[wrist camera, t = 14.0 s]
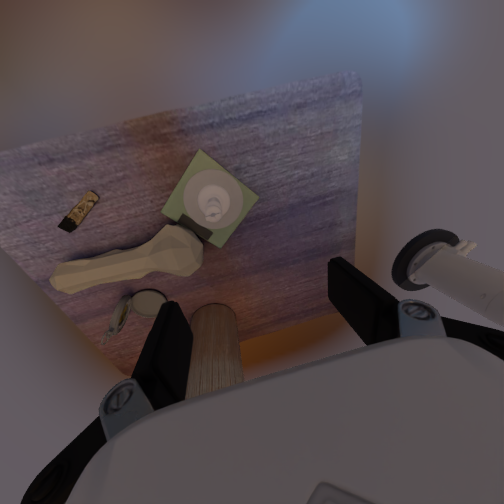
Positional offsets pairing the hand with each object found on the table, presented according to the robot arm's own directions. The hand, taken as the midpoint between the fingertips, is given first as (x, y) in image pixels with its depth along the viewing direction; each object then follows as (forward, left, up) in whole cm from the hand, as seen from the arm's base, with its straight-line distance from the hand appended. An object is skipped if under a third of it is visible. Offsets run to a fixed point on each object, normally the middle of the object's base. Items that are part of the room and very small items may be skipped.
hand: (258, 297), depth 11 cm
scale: (+1, -3, -24) cm, 24 cm away
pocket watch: (+25, -3, -24) cm, 35 cm away
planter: (+23, +12, -24) cm, 35 cm away
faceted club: (+16, -9, -24) cm, 30 cm away
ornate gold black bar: (+14, -18, -24) cm, 33 cm away
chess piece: (0, -3, -21) cm, 21 cm away
